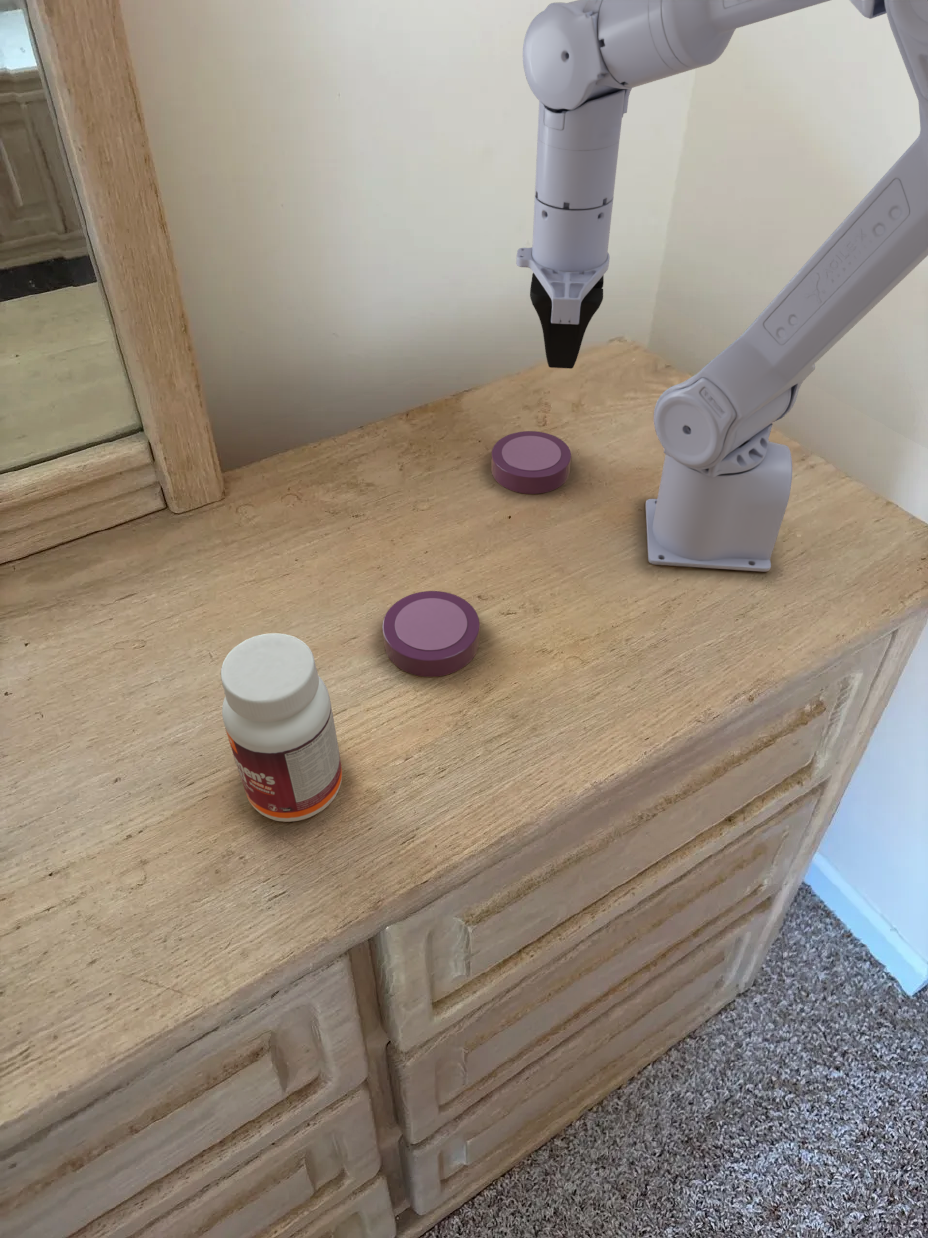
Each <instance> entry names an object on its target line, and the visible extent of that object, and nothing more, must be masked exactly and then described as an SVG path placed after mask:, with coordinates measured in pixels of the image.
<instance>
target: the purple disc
mask: <svg viewBox="0 0 928 1238" xmlns="http://www.w3.org/2000/svg"><path fill="white" fill-rule="evenodd" d="M381 628H382V629H381V630H382V637H383V638H382V640H383V648H384V652H385V654H386V656H387V657H388V660H390V662H391V663H392V664H393V665H394V666H395V667H397V668H398V669H400V670H401V671H403V672H406V673H407V674H411V675H413V676H417V677H418V676H419V677H424V678H427V677H428V678H434V677H435V678H436V677H443V676H447V675H450V674H453V673H456V672H458V671H460V670H461V669H463V668H465V667H466V666H467V665H468V664H470V663H471V662H472V661H473V659H474V658H475V656H476V655H477V654H478V651H479V648H480V647H479V646H480V642H481V639H480V633H481V632H480V631H481V623H480V618H479V614H478V612H477V611H476V610H475V608H474V607H473V605H471V603H469V602H468V601H467V600H466V599H464V598H463V597H461V596H459V595H457V594H453V593H451V592H446V591H440V590H425V591H419V592H415V593H411V594H408V595H406V596H403V597H402V598H401V599H399V600H397V601H396V602H394V603H393V604H392V605H391V607H389V609H388V610H387V612H386V613H385V615H384V617H383V621H382V625H381Z"/></svg>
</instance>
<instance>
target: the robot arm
mask: <svg viewBox="0 0 928 1238" xmlns="http://www.w3.org/2000/svg"><path fill="white" fill-rule="evenodd" d="M830 1H831V0H572V1H568V2H560V1H559V2H558V1H557V2H556V1H555V2H551V3H549V4H548V5H547V6H546V7H545V8H544V10H542V11H541V12H539V13H538V14H536V16H534V18H533V19H532V20H531V22H530V23H529V25H528V27H527V30H526V32H525V35H524V39H523V46H522V64H523V72H524V76H525V79H526V81H527V84H528V86H529V88H530V91H531V93H532V94H533V96H535V98H536V99H537V100H538V117H537V140H536V141H537V142H536V162H535V181H534V182H535V183H534V184H535V185H534V186H535V187H534V201H533V202H534V203H533V204H534V205H533V225H532V228H533V229H532V247H520V248H518V249H517V252H516V257H515V259H516V261H515V264H516V267H519V268H528V269H530V270H531V271H532V272H533V273H532V275H531V281H530V288H529V298H530V301H531V305H532V306H533V308H534V310H535V311H536V314H537V316H538V318H539V322H540V325H541V330H542V336H543V345H544V351H545V358H546V362H547V366H548V367H549V368H551V369H570V370H573V369H574V367H575V364H576V362H577V360H578V356H579V354H580V350H581V346H582V343H583V340H584V336H585V334H586V330H587V328H588V325H589V324H590V322H591V320H592V318H593V317H594V316H595V314H596V312H597V311H598V310H599V309H600V307H601V305H602V303H603V300H604V282H605V281H604V279H605V277H604V276H605V274H606V273H607V272H608V270H609V267H610V259H611V258H610V253H609V242H610V234H611V225H612V214H613V207H614V195H615V185H616V177H617V169H618V167H617V166H618V160H619V159H618V157H619V150H620V149H619V148H620V140H621V131H622V121H623V117H624V115H625V114H627V113H628V105H629V98H630V94H631V91H632V89H633V88H636V87H640V86H643V85H647V84H650V83H653V82H657V81H660V80H663V79H666V78H669V77H673V76H675V75H679V74H682V73H686V72H689V71H692V70H695V69H698V68H702V67H705V66H708V65H712V64H713V63H715V62H716V61H717V60H719V58H720V57H722V55H723V54H724V52H725V51H726V49H727V47H728V45H729V43H730V41H731V40H732V38H733V35H734V33H735V31H736V30H737V29H739V28H743V27H745V26H748V25H753V24H756V23H759V22H762V21H766V20H769V19H773V18H777V17H779V16H782V15H786V14H789V13H794V12H796V11H797V12H798V11H800V10H803V9H807V8H809V7H813V6H817V5H820V4H823V3H827V2H830ZM848 1H849V2H850V3H851V4H852V5H853V6H854V8H855V9H856V10H857V11H858V12H859V13H860V14H861V15H862V16H863V17H864V18H866V19H869V20H871V19H874V18H878V17H880V16H883V15H886V17H887V20H888V24H889V27H890V30H891V32H892V35H893V37H894V40H895V43H896V45H897V48H898V51H899V54H900V56H901V59H902V61H903V64H904V66H905V69H906V72H907V74H908V77H909V80H910V83H911V85H912V88H913V90H914V94H915V96H916V98H917V101H918V113H919V134H918V136H917V138H916V139H915V140H914V141H913V142H912V143H911V144H910V146H909V147H908V148H907V149H906V150H905V151H904V152H903V153H902V154H901V156H900V157H899V158H898V159H897V160H896V161H895V163H894V164H893V165H892V166H891V167H890V168H889V169H888V170H887V171H886V173H885V174H884V175H882V177H881V178H880V180H879V181H878V182H877V183H876V184H875V185H873V187H872V188H871V189H870V191H869V192H868V193H866V194H865V196H864V197H863V198H862V199H861V201H860V202H859V203H858V204H857V205H856V206H855V207H854V208H853V210H852V211H851V212H850V213H849V214H848V215H847V216H846V218H845V219H843V221H842V222H841V223H840V224H839V225H838V226H837V227H836V229H834V231H833V232H832V233H831V234H830V236H828V238H827V239H826V240H825V241H824V242H823V243H822V244H821V246H820V247H818V248H817V250H816V251H815V252H814V253H813V254H812V255H811V257H810V258H809V259H808V260H807V261H806V262H805V263H804V264H803V266H802V267H801V268H800V269H799V270H798V271H797V272H796V273H795V275H793V277H792V278H791V279H790V280H789V281H788V282H787V283H786V284H785V286H784V287H782V288H781V290H780V291H779V292H778V293H777V295H776V296H775V297H774V298H773V299H772V300H771V301H770V302H769V303H768V304H767V306H766V307H765V308H764V309H763V310H762V311H761V313H759V315H758V316H757V317H756V318H755V319H754V320H753V321H752V322H751V324H750V325H749V326H748V327H747V328H746V329H745V331H743V333H741V335H739V337H738V338H736V339H735V340H734V341H733V342H731V343H730V344H729V345H728V346H726V348H725V349H724V350H722V351H720V352H719V354H717V355H716V356H715V357H713V358H712V359H711V360H710V361H709V362H708V363H707V364H705V365H704V366H703V367H702V368H701V369H699V371H698V372H697V373H695V374H694V375H692V376H691V377H689V378H687V379H686V380H684V381H682V382H679V383H677V384H674V385H671V386H670V387H668V388H667V389H665V390H664V391H663V392H662V393H661V394H660V395H659V397H658V399H657V401H656V403H655V406H654V409H653V426H654V430H655V434H656V436H657V439H658V442H659V443H660V445H661V446H662V448H663V453H664V461H663V466H662V471H661V476H660V482H659V487H658V493H657V498H649V499H646V501H645V505H644V506H645V521H646V523H645V524H646V542H647V544H646V545H647V560H648V562H649V563H650V564H652V565H657V566H658V565H659V566H674V567H689V568H703V569H718V570H735V571H746V572H747V571H749V572H762V573H763V572H764V573H765V572H769V571H770V570H771V568H772V563H771V557H772V554H773V552H774V548H775V546H776V542H777V539H778V536H779V533H780V530H781V527H782V523H783V520H784V517H785V513H786V510H787V508H788V503H789V499H790V495H791V490H792V483H793V482H792V480H793V458H792V453H791V449H790V447H789V445H786V444H783V443H777V442H774V441H770V435H771V432H772V428H773V423H775V422H777V421H779V420H781V419H782V418H784V417H785V416H786V415H788V413H790V412H791V410H792V408H793V407H794V406H795V403H796V401H797V398H798V394H799V391H800V389H801V387H802V384H803V383H804V381H805V380H806V379H807V378H808V377H809V376H810V375H811V374H813V372H814V371H815V370H816V363H817V362H818V361H820V360H821V358H823V356H824V355H826V354H827V353H828V352H829V351H830V350H831V349H832V348H833V347H834V346H835V345H836V344H837V343H838V342H839V341H840V340H841V339H842V338H844V336H846V335H847V334H848V333H849V331H850V330H852V329H853V328H854V327H855V326H856V325H857V324H858V323H859V322H860V321H861V320H862V319H863V318H865V316H866V315H867V314H869V312H871V311H872V310H873V309H874V308H875V307H876V306H877V305H878V304H879V303H880V302H881V301H882V300H883V299H884V298H885V297H886V296H887V295H889V294H890V293H891V292H892V290H894V289H895V288H896V286H898V285H899V284H900V283H901V282H902V281H903V280H904V279H905V278H907V276H909V274H911V272H912V271H913V270H915V268H916V267H918V265H920V264H921V263H922V262H923V261H925V259H926V258H927V257H928V0H848Z"/></svg>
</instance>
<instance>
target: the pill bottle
mask: <svg viewBox="0 0 928 1238" xmlns="http://www.w3.org/2000/svg"><path fill="white" fill-rule="evenodd" d="M220 680H221V684H222V687H223V692H224V698H223V702H222V707H221V715H222V721H223V725H224V728H225V729H224V730H225V732H226V735H227V738H228V743H229V745H230V748H231V751H232V755H233V758H234V761H235V762H234V763H235V765H236V768H237V772H238V774H239V778H240V780H241V783H242V787H243V790H244V792H245V795H246V798H247V800H248V802H249V804H250V805H251V806H252V808H253V809H254V810H256V812H258V813H259V814H260V815H262V816H264V817H265V818H267V819H270V820H273V821H276V822H290V823H291V822H298V821H303V820H306V819H309V818H312V817H314V816H315V815H317V814H319V813H321V812H322V811H323V810H324V809H326V808H327V807H328V806H329V805H330V804H331V803H332V802H333V801H334V799H335V798H336V797H337V795H338V793H339V791H340V789H341V785H342V781H343V768H342V759H341V754H340V749H339V748H340V747H339V744H338V743H339V742H338V736H337V731H336V725H335V720H334V719H335V718H334V714H333V707H332V702H331V697H330V693H329V690H328V688H327V685H326V683H325V682H324V680H323V679H322V677H321V676H320V675H319V672H318V669H317V665H316V660H315V657H314V653H313V652H312V649H311V648H310V647H309V645H308V644H307V643H305V642H304V641H303V640H302V639H300V638H298V637H296V636H293V635H291V634H286V633H278V632H271V633H262V634H258V635H254V636H252V637H249V638H247V639H245V640H243V641H241V642H240V643H238V644H237V645H235V646H234V647H233V648H232V649H231V650H230V651H229V652H228V654H227V655H226V656H225V658H224V660H223V662H222V664H221V669H220Z"/></svg>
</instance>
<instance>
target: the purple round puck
mask: <svg viewBox="0 0 928 1238" xmlns="http://www.w3.org/2000/svg"><path fill="white" fill-rule="evenodd" d="M571 463H572V452H571V449H570V447H569V445H568V444H567V443H566V442H565V441H564V440H562V439H561V438H560V437H558V436H555V435H553V434H552V433H551V434H550V433H548V432H543V431H536V430H534V431H533V430H524V431H517V432H513V433H510V434H508V435H505V436H503V437H501V438H500V439H498V440H497V441H496V442H495V444H494V445H493V447H492V448H491V464H490V465H491V466H490V469H491V476H492V477H493V479H494V480H495V481H496V482H497V484H499V485H500V486H501V487H503V488H505V489H506V490H509V491H511V492H515V493H519V494H526V495H539V494H544V493H549V492H552V491H555V490H558V489H559V488H560V487H562V486H563V485H564V484H565V483H566V482H568V481H567V480H568V479H569V476H570V473H571Z"/></svg>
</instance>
